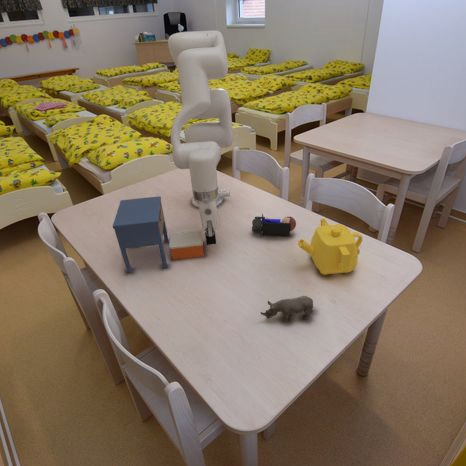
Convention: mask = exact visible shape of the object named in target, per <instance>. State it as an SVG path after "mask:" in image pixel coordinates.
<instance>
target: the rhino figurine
mask: <svg viewBox="0 0 466 466" xmlns="http://www.w3.org/2000/svg"><path fill="white" fill-rule="evenodd" d="M267 305H268V306H269V308H268V309H265V311H264V312H262V311H260V314H261V315H262V316H264V317H266V319H268V320H269V319H271V318H273V317H276V316H277V315H278V313H282V314H283V316H284V317H283V322H284V323H288V322H289V321H290V315H291V314H292V315H299V314H302V313H303V312H304V315H303V316H302V320H306V321H308V320H309V319H310V315H311V313H314V310H313V308H314V300H313V299H312V298H311V297H309V296H307V295H301V296H298V297H293V298H283V299H279V300H278V301H275V302H273V303H272V302H271V301H269V300H268V301H267Z"/></svg>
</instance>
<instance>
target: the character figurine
mask: <svg viewBox="0 0 466 466" xmlns="http://www.w3.org/2000/svg"><path fill="white" fill-rule="evenodd" d="M251 225H252V226H251V232H252V233H253V234H255V235H259V234H261V233H262V234H261V235H262V236H263V237H286V238H287V237H290V236H291V232H292V231H294V230H295V229H296V227H297V221H296V219H295V218H294V217H293V216H289V215H287V216H284V218H282V220H281V218H269V217H266V216H264V214H263V213H262V214H261V216H255V217H254V218H253V219H252V221H251Z"/></svg>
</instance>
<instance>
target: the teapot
mask: <svg viewBox="0 0 466 466" xmlns="http://www.w3.org/2000/svg"><path fill="white" fill-rule="evenodd" d="M355 238H357V240H356V239H355ZM362 242H363V236H362V234H360V233H359V232H356V231H355V232H351V230H350V229H349V228H348V227H347V226H345V225H344V224H328V222H327V219H326V218H320V226H317V227H316V228H315V231H314V233H313V234H312V236H311V241H310V244H309V243H308V242H307V241H306V240H304V239H303V238H302V239H300V240H299V241H298V242H297V247H299V248H300V249H301V250H302V251H305V252H306V253H307V254H308V255H310V256H311V259H312V262H313V263H314V265H315V267H316V268H317V270H319V274H321V275H323V276H327V275H330V274H331V275H333V274H343V273H344V274H348V273H350V272H352V271H354V270H355V269H356V267H357V266H358V255H360V254H361V253H360V252H361V250H360V248H359V247H360V246H361V244H362Z"/></svg>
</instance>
